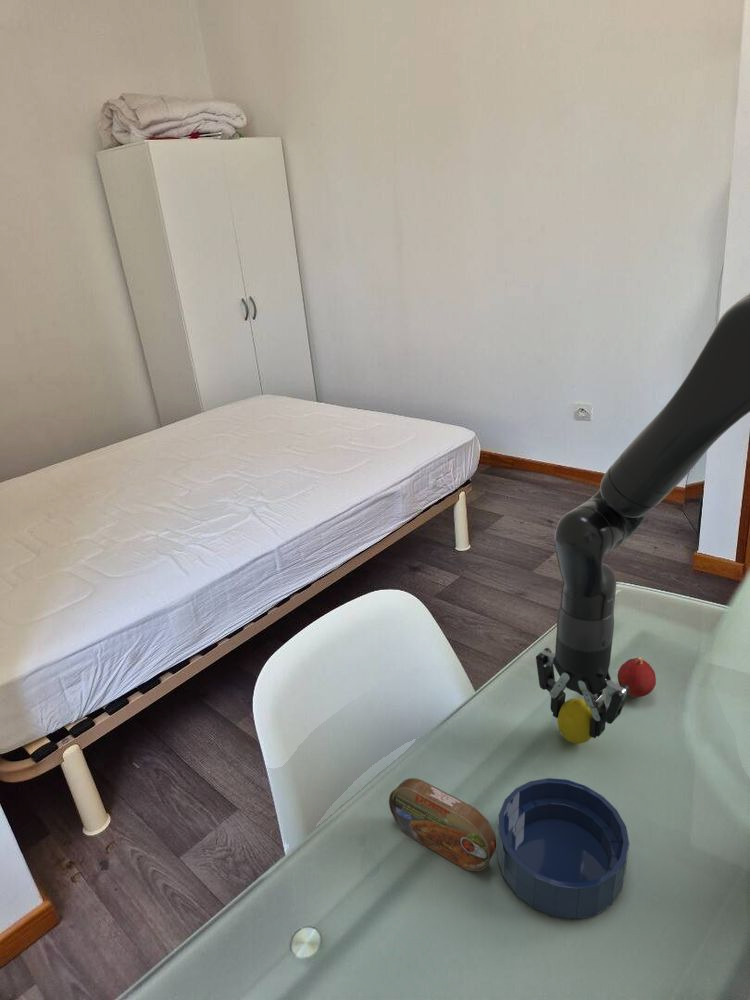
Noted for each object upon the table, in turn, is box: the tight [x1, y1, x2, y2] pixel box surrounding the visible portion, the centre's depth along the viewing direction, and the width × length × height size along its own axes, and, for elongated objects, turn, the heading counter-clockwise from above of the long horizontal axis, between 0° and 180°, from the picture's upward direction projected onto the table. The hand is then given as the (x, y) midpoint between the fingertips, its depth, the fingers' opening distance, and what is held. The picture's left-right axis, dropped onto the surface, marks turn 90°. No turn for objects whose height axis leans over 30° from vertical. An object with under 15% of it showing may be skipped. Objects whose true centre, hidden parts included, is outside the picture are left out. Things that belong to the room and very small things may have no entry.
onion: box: [617, 656, 657, 699], centre depth 111 cm, size 6×6×8 cm
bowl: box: [497, 777, 630, 920], centre depth 86 cm, size 15×15×6 cm
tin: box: [388, 777, 497, 872], centre depth 88 cm, size 15×3×8 cm, turn 53°
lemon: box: [557, 697, 593, 745], centre depth 103 cm, size 6×6×8 cm
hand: (576, 723), depth 103 cm, fingers closed on lemon, 5 cm apart
